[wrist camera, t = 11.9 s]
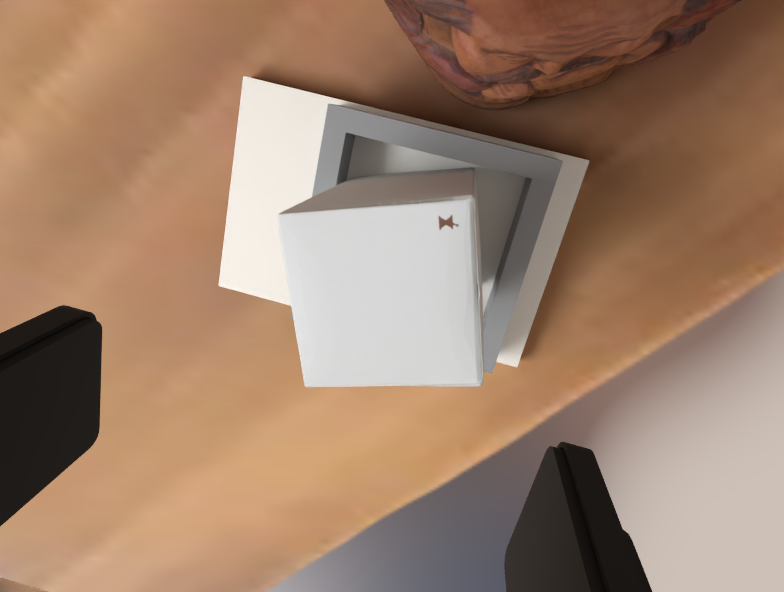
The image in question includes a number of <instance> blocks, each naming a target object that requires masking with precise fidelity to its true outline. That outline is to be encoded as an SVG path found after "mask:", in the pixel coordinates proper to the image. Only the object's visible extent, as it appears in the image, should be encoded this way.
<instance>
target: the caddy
mask: <svg viewBox="0 0 784 592" xmlns="http://www.w3.org/2000/svg"><path fill="white" fill-rule="evenodd" d="M588 164H589V160H586V159H582V158H578V157H573V156H569V155H565V154H561V153H557V152H553V151H549V150H545V149H541V148H537V147H533V146H528V145H524V144H520V143H516V142H512V141H508V140H504V139H500V138H496V137H492V136H487V135H483V134H479V133H475V132H471V131H467V130H463V129H459V128H455V127H451V126H447V125H442V124H438V123H434V122H430V121H426V120H422V119H418V118H414V117H410V116H406V115H402V114H397V113H393V112H389V111H385V110H381V109H377V108H373V107H369V106H365V105H361V104H356V103H352V102H348V101H344V100H340V99H336V98H332V97H328V96H324V95H320V94H316V93H311V92H307V91H303V90H299V89H295V88H291V87H287V86H283V85H279V84H275V83H271V82H266V81H262V80H258V79H254V78H250V77H246V76H243V84H242V92H241V101H240V109H239V118H238V126H237V135H236V143H235V151H234V160H233V168H232V177H231V185H230V194H229V202H228V210H227V219H226V227H225V236H224V244H223V253H222V261H221V270H220V278H219V286H221V287H224V288H228V289H232V290H235V291H239V292H243V293H246V294H250V295H254V296H257V297H261V298H265V299H268V300H272V301H276V302H279V303H283V304H287V305H290V306H291V301H290V295H289V289H288V283H287V277H286V271H285V265H284V258H283V252H282V245H281V239H280V233H279V227H278V220H277V215H278V214H279V213H281V212H283V211H285V210H287V209H289V208H291V207H293V206H295V205H297V204H299V203H301V202H303V201H305V200H307V199H309V198H311V197H313V196H315V195H317V194H320V193H322V192H324V191H326V190H328V189H330V188H332V187H334V186H336V185H338V184H340V183H343V182H345V181H347V180H349V179H351V178H353V177H359V176H369V175H380V174H391V173H402V172H413V171H428V170H443V169H456V168H468V167H474V168H475V177H476V188H477V199H478V212H479V228H480V248H481V268H482V294H483V338H484V371H485V372H489V373H492V372H493V369H494V366H495V363H496V362H500V363H503V364H507V365H511V366H514V367H517V366H518V363H519V360H520V358H521V355H522V352H523V349H524V346H525V343H526V340H527V338H528V335H529V332H530V329H531V326H532V323H533V321H534V318H535V315H536V312H537V309H538V306H539V303H540V301H541V298H542V295H543V292H544V289H545V286H546V284H547V281H548V278H549V275H550V272H551V269H552V266H553V264H554V261H555V258H556V255H557V252H558V249H559V247H560V244H561V241H562V238H563V235H564V232H565V229H566V227H567V224H568V221H569V218H570V215H571V212H572V210H573V207H574V204H575V201H576V198H577V195H578V192H579V190H580V187H581V184H582V181H583V178H584V175H585V173H586V170H587V167H588ZM291 318H292V319H293V313H292V314H291Z"/></svg>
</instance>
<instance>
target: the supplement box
mask: <svg viewBox="0 0 784 592" xmlns="http://www.w3.org/2000/svg"><path fill="white" fill-rule="evenodd" d="M277 220H278V227H279V233H280V239H281V245H282V252H283V258H284V265H285V271H286V277H287V283H288V289H289V295H290V301H291V307H292V313H293V319H294V325H295V331H296V337H297V342H298V348H299V354H300V360H301V366H302V372H303V377H304V384H305V386H306V387H347V386H471V387H478V386H481V385H482V383H483V379H484V338H483V294H482V268H481V248H480V228H479V212H478V199H477V188H476V177H475V168H474V167H468V168H456V169H443V170H428V171H413V172H402V173H391V174H380V175H369V176H359V177H353V178H351V179H349V180H347V181H345V182H343V183H340V184H338V185H336V186H334V187H332V188H330V189H328V190H326V191H324V192H322V193H320V194H317V195H315V196H313V197H311V198H309V199H307V200H305V201H303V202H301V203H299V204H297V205H295V206H293V207H291V208H289V209H287V210H285V211H283V212H281V213H279V214H278V215H277Z"/></svg>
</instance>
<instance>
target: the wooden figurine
mask: <svg viewBox="0 0 784 592" xmlns="http://www.w3.org/2000/svg"><path fill="white" fill-rule="evenodd" d="M384 1H385V3H386V4H387V6H388V7H389V9H390V11H391V12H392V14H393V16H394V18H395V19H396V20H397V22H398V24H399V26H400V27H401V28H402V30H403V31H404V33H405V34H406V35H407V37H408V38H409V40H410V41H411V43H412V44H413V45H414V47H415V48H416V50H417V52H418V53H419V54H420V56H421V57H422V59H423V60H424V62H425V63H426V65H427V67H428V68H429V69H430V71H431V72H432V74H433V75H434V77H435V78H436V79H437V80H438V82H439V83H440V84H441V85H442V86H443V87H444V88H446V89H447V90H448V91H449V92H450V93H451V94H452V95H454V96H455V97H457V98H458V99H460V100H462V101H464V102H466V103H468V104H471V105H473V106H475V107H477V108H481V109H486V110H500V109H507V108H510V107H513V106H517V105H520V104H522V103H524V102H526V101H527V100H529V98H549V97H554V96H556V95H560V94H562V93H566V92H570V91H573V90H576V89H580V88H586V87H589V86H591V85H595V84H598V83H600V82H602V81H604V80H606V79H608V78H609V76H610V75H612V74H613V73H614V72H616V71H617V70H618V69H620V68H621V67H622V66H623V65H624V64H627V63H628V64H630V65H634V64H642V63H645V62H648V61H650V60H653V59H655V58H658V57H660V56H663V55H665V54H668V53H671V52H674V51H676V50H678V49H681V48H683V47H685V46H687V45H688V44H690V43H691V41H692V40H693V39H694V38H695V36H697V35H699V34H700V33H702V32H703V31H704V30H705V25H706V23H707V22H708V21H709V20H710V19H711V18H713V16H715V15H717V14H719V13H721V12H723V11H725V10H726V9H728V8H730V7H731V6H733V5H734V4H736V3H738V2H739V1H741V0H384Z"/></svg>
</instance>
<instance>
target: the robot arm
mask: <svg viewBox="0 0 784 592" xmlns="http://www.w3.org/2000/svg"><path fill="white" fill-rule="evenodd" d="M101 352H102V326H101V324H100V323H99V322H97V320H96V317H95V315H94V314H93V313H91V312H88V311H84V310H80V309H77V308H73V307H69V306H64V305H63V306H59V307H57V308H54V309H52V310H50V311H48V312H46V313H43V314H41V315H39V316H37V317H35V318H33V319H30V320H28V321H26V322H24V323H22V324H20V325H17V326H15V327H13V328H11V329H9V330H7V331H4V332H2V333H0V526H1V525H2V524H4V523H5V522H6V521H7V520H8V519H9V518H10V517H12V516H13V515H14V514H15V513H16V512H17V511H18V510H20V509H21V508H22V507H23V506H24V505H25V504H26V503H28V502H29V501H30V500H31V499H32V498H33V497H34V496H36V495H37V494H38V493H39V492H40V491H41V490H42V489H44V488H45V487H46V486H47V485H48V484H49V483H50V482H52V481H53V480H54V479H55V478H56V477H57V476H58V475H60V474H61V473H62V472H63V471H64V470H65V469H66V468H68V467H69V466H70V465H71V464H72V463H73V462H74V461H76V460H77V459H78V458H79V457H80V456H81V455H82V454H84V453H85V452H86V451H87V450H88V449H89V448H90V447H91V446H92V445H93V444H94V442H95V441H96V439H97V437H98V433H99V425H100V389H101ZM505 579H506V591H507V592H652V590H651V587H650V585H649V582H648V580H647V577H646V575H645V572H644V570H643V567H642V564H641V562H640V559H639V557H638V554H637V552H636V549H635V547H634V545H633V542H632V540H631V538H630V536H629V534H628V533H627V532H625V531H624V530H623V529H622V526H621V524H620V521H619V519H618V516H617V513H616V511H615V508H614V505H613V503H612V500H611V498H610V495H609V492H608V490H607V487H606V484H605V482H604V479H603V477H602V474H601V471H600V469H599V466H598V463H597V461H596V458H595V455H594V453H593V452H592V450H590V449H587V448H583V447H580V446H576V445H573V444H569V443H565V442H561V443H560V444H559V445H558V446H557V448H556V447H552V446H550V447H549V448H548V449H547V451H546V453H545V455H544V458H543V460H542V463H541V465H540V468H539V470H538V472H537V475H536V477H535V480H534V482H533V485H532V487H531V490H530V492H529V495H528V497H527V500H526V502H525V505H524V507H523V510H522V512H521V515H520V517H519V519H518V522H517V524H516V527H515V529H514V532H513V534H512V537H511V539H510V542H509V544H508V547H507V550H506V554H505ZM0 592H47V591H44V590H40V589H37V588H34V587H30V586H27V585H24V584H20V583H17V582H14V581H10V580H7V579H4V578H0Z"/></svg>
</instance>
